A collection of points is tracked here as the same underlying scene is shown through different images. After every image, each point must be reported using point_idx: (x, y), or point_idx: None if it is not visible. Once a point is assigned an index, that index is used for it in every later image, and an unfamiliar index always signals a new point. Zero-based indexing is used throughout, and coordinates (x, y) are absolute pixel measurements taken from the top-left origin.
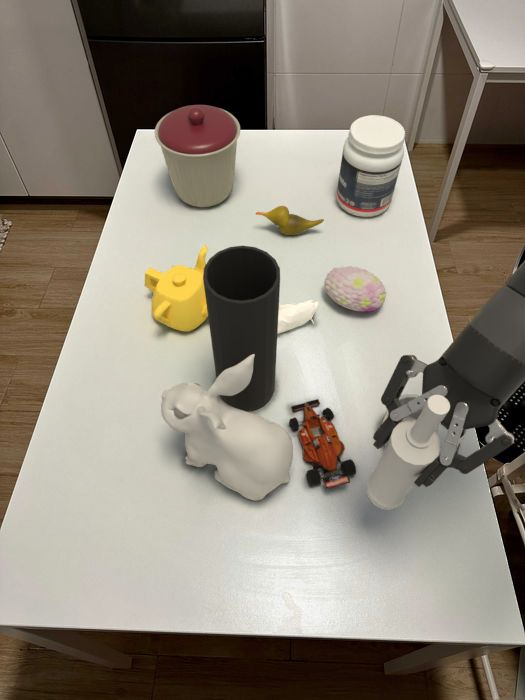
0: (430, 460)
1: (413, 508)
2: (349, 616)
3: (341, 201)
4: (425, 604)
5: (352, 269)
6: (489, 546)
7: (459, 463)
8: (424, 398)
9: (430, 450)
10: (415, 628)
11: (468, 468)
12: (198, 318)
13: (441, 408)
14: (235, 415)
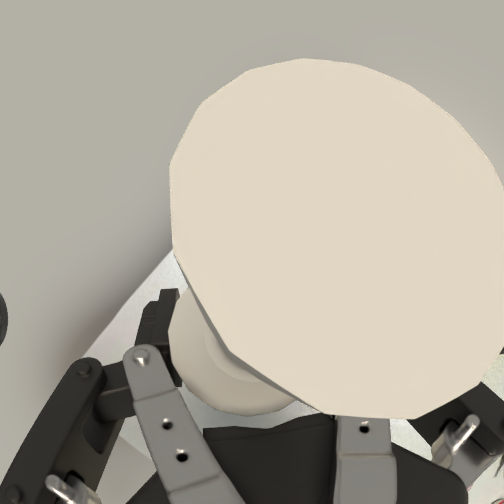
0: (173, 325)
1: (209, 406)
2: (170, 272)
3: (501, 501)
4: (130, 340)
5: (468, 489)
6: (131, 435)
7: (102, 373)
8: (370, 425)
9: (192, 337)
10: (123, 316)
11: (73, 376)
12: None
13: (307, 153)
14: None
